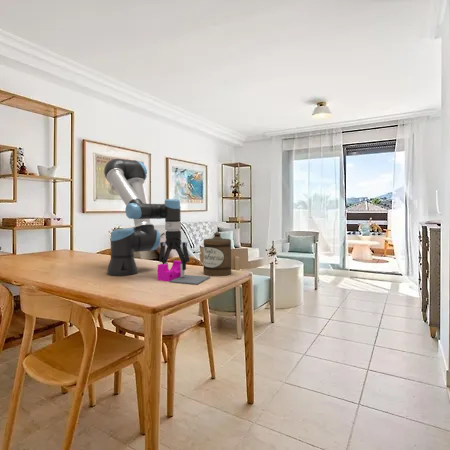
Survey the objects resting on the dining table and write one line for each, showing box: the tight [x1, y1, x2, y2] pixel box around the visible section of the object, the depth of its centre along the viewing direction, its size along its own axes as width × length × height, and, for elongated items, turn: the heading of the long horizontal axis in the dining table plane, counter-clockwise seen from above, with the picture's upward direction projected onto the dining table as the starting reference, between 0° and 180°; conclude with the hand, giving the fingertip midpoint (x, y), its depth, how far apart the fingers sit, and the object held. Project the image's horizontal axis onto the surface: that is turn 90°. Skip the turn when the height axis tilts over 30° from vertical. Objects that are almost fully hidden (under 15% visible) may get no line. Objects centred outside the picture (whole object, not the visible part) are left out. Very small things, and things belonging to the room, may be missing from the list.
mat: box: [169, 274, 211, 286], centre depth 156 cm, size 14×16×1 cm
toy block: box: [157, 260, 182, 283], centre depth 160 cm, size 15×6×8 cm, turn 155°
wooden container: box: [202, 231, 232, 277], centre depth 174 cm, size 15×15×22 cm
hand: (174, 276), depth 161 cm, fingers open, 8 cm apart
